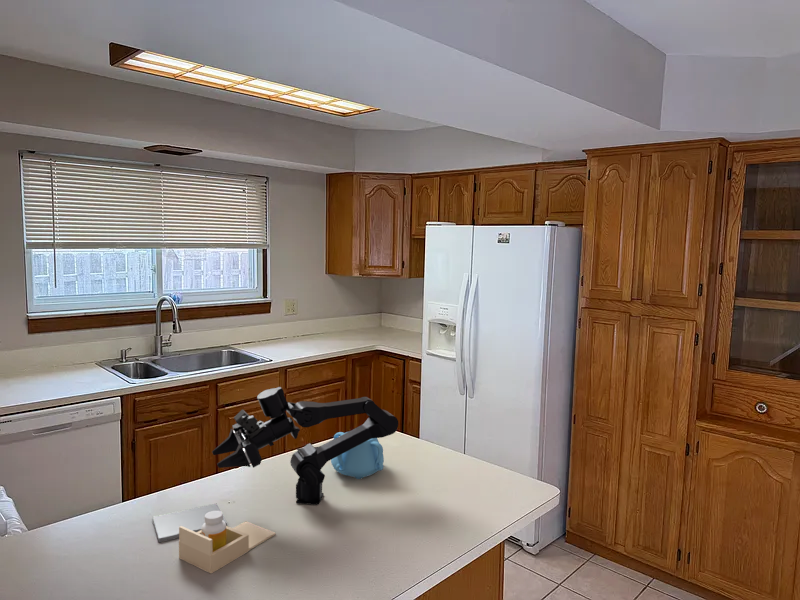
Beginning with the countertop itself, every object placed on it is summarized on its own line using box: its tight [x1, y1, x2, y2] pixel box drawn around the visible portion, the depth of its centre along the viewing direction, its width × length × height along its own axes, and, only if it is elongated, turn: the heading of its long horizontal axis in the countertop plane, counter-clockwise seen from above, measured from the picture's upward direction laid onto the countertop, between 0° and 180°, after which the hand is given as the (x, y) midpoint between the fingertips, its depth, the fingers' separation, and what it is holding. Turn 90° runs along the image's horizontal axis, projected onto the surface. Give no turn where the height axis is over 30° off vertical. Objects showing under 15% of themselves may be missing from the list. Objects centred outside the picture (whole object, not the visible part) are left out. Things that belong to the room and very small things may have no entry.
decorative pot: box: [330, 431, 385, 480], centre depth 178 cm, size 16×16×14 cm
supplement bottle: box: [202, 510, 226, 552], centre depth 130 cm, size 5×5×10 cm
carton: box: [178, 521, 276, 574], centre depth 133 cm, size 20×11×8 cm, turn 148°
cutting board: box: [152, 503, 228, 543], centre depth 144 cm, size 16×12×1 cm
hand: (215, 459), depth 146 cm, fingers open, 9 cm apart
